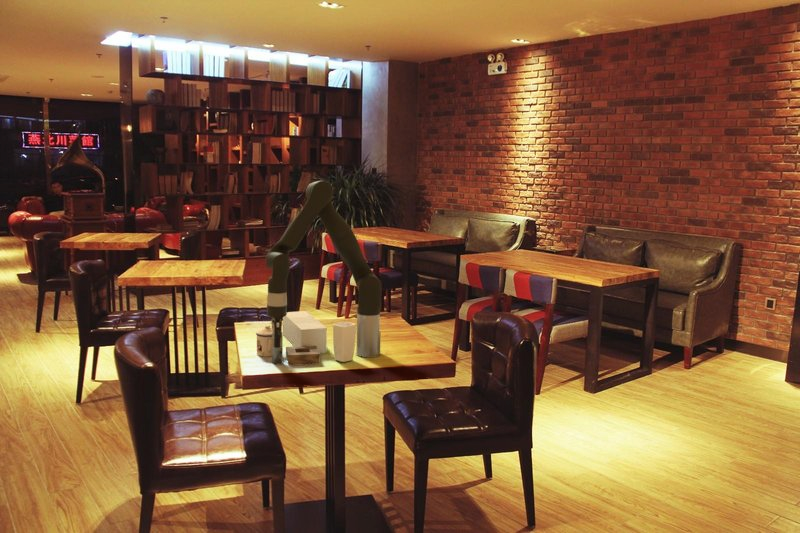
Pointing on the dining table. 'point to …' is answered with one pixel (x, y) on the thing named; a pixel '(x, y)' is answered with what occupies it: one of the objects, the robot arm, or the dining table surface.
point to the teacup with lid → (264, 341)
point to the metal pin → (277, 350)
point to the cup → (344, 341)
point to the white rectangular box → (304, 330)
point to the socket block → (302, 355)
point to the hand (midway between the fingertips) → (276, 344)
